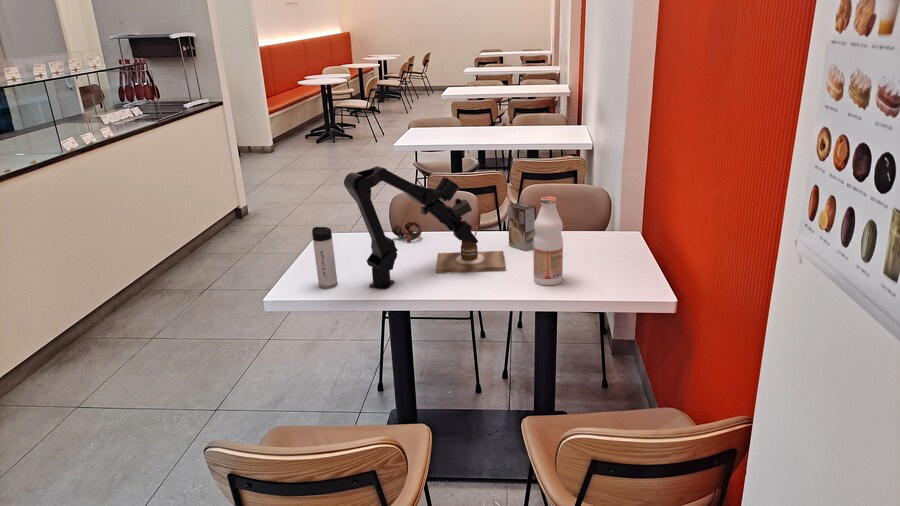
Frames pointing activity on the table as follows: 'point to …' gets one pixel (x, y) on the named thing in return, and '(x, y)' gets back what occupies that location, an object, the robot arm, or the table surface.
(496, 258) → the walnut board
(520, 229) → the coffee box
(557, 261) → the fruit juice
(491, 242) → the table surface
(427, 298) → the table surface
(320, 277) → the travel mug
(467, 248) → the utensil holder
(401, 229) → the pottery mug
